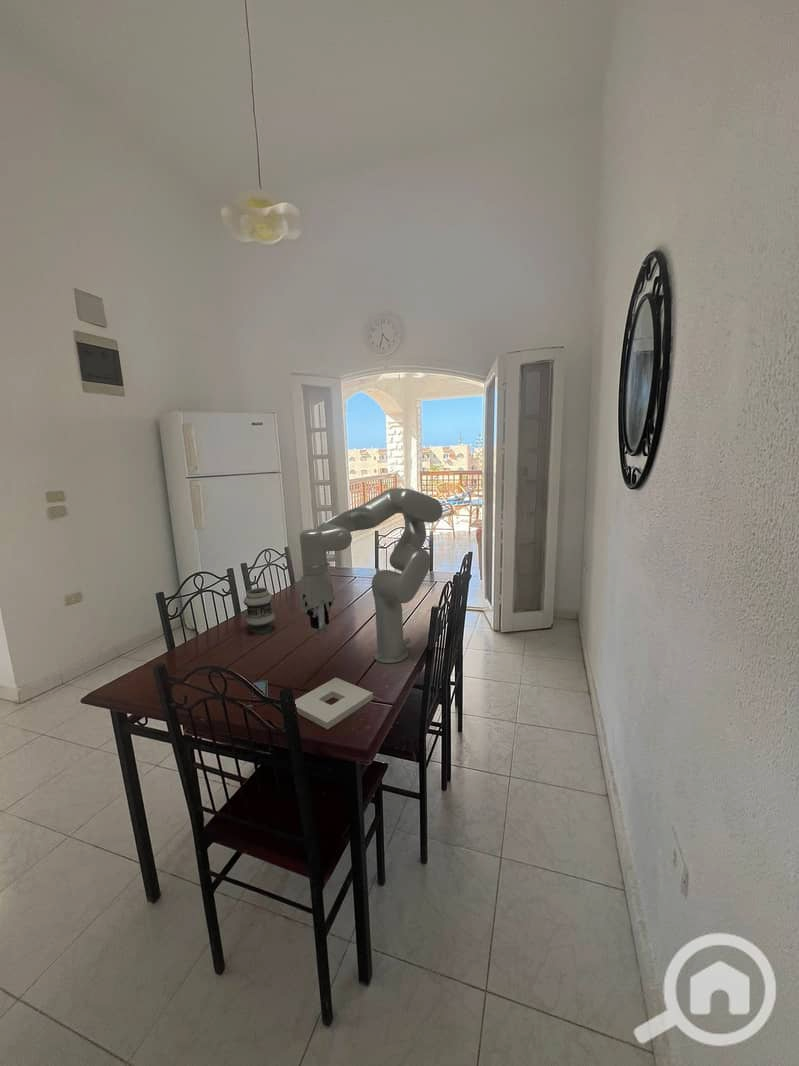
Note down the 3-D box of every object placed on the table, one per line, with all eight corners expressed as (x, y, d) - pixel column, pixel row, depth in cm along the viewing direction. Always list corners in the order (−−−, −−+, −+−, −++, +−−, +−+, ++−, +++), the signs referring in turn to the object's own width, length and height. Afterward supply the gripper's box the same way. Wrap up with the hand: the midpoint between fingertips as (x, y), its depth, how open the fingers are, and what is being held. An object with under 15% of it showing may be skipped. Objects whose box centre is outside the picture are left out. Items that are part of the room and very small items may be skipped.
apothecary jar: (240, 633, 181) (236, 592, 178) (261, 623, 191) (258, 584, 188) (261, 638, 175) (257, 596, 172) (282, 627, 185) (278, 587, 182)
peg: (321, 627, 139) (318, 594, 137) (330, 630, 136) (328, 596, 134) (310, 632, 135) (307, 598, 133) (319, 635, 132) (316, 601, 130)
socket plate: (336, 683, 137) (335, 677, 137) (373, 699, 127) (372, 692, 127) (290, 709, 123) (289, 703, 123) (327, 729, 114) (327, 722, 113)
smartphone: (267, 679, 141) (267, 702, 126) (267, 682, 141) (267, 705, 127) (243, 683, 139) (241, 707, 124) (243, 686, 139) (241, 710, 124)
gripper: (327, 562, 141) (331, 615, 144) (285, 574, 128) (291, 632, 131) (343, 564, 136) (347, 619, 139) (301, 577, 123) (307, 637, 127)
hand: (320, 625), depth 135 cm, fingers closed on peg, 3 cm apart
